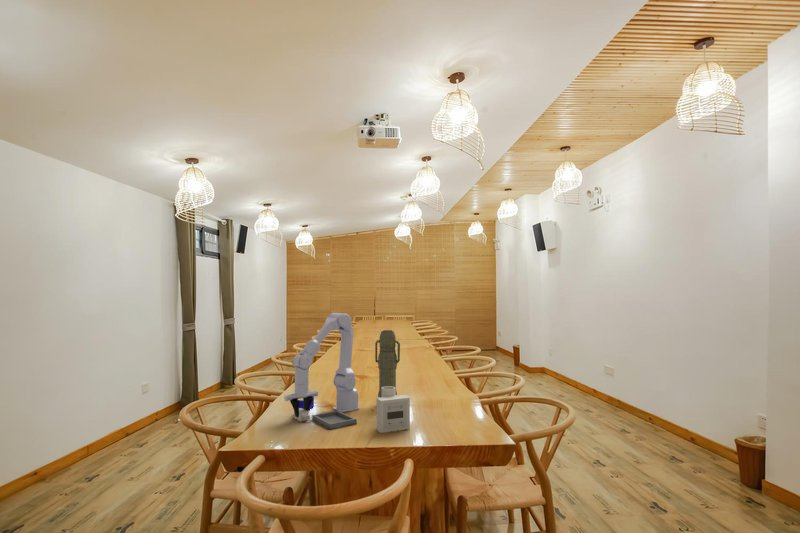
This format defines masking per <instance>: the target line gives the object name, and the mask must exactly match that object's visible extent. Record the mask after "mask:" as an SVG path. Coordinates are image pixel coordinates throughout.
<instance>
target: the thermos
mask: <svg viewBox="0 0 800 533" xmlns="http://www.w3.org/2000/svg"><path fill="white" fill-rule="evenodd" d="M374 344H375V345H374V348H375V350H374V352H375V354H374V355H375V356H374V358H375V363H377V365H378V366H377V368H378V374H379V377H378V379H379V381H378V383H379V385H378V389H379V390H378V393H377V398H380V397H382V387H385V386H392V387H395V395H397V396H398V391H397V367H398V364H399V362H400V360H401V342H399V340H396V334H395V331H393V330H392V329H391V330H389V329H386V330H385V329H384V330H382V331H380V334H379V339H377V340H376V342H375V343H374ZM378 344H379V353H378ZM396 346H397V347H396ZM396 348H397V351H396ZM396 352H397V353H396Z"/></svg>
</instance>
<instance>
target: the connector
mask: <svg viewBox="0 0 800 533" xmlns="http://www.w3.org/2000/svg"><path fill="white" fill-rule="evenodd" d="M293 414H294V415H293V418H294V419H295V420H297V421H298V422H306V421H309V420H310V419H311V415H309V411H306V410H304V409H302V408H299V417H296V416H295V413H294V412H293Z"/></svg>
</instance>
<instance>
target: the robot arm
mask: <svg viewBox="0 0 800 533" xmlns="http://www.w3.org/2000/svg"><path fill="white" fill-rule="evenodd" d="M335 330H337V331H339V332H340V345H339V346H340V349H339V360H338V361H339V363H338V368H337V370H335V376H334V377H333V380H332V381H333V385H334V387H335V389H336V406H333V407H332V409H333V410H334V411H337V410H338V411H340V412H342V413H345V412H349V411H356V410H360V408H359V394H358V390H357V388H355V386H356V384H357V383H356V377H355V372H354V371H353V368H352V361H353V360H352V359H353V358H352V357H353V344H354V343H353V342H354V328H353V325H352V317H351V316H350V315H349V314H348V313H346V312H345V313H341V312H339V313H338V312H331V313H329V315H328V316H327V317H326V319H325V321H324V324H323V325H322V327H321V328H320V329H319V331H318V333H316V336H315V337H314V339H310V340H308V341H307V342H306V343H305V346H304V347H303V348H302V349H301V350H300V351H299V354H296V355H295V356H294V358H293V360H292V361H291V363H292V366H293V367H294V392H293V393H290V394H287V395H286V394H285V395H283V396H284V398H283V399H284V401H285V402H288V401H289V403H290V404H291V406H292V409H293V414H294V413H295V416H296V417H299V404H300V401H298V400H301V399H302V400H303V401H304V410H306V411H308V412H309V411H310V410H309V408H310V405H311V403H312V401H313V398H312V397H313V396H314V397H319V391H317V390H312V391H310V390H309V386H310V385H309V384H310V383H309V373H310V372H309V368H310V367H311V366H312V361H313V359H314V357H315V356H316V355H317V353H318V352H319V350H320V349H321V344H322V342H323V341H324V340H325V339H326V338H327V337H328V335H329V334H330V333H331V332H332V331H335Z"/></svg>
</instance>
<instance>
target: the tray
mask: <svg viewBox="0 0 800 533" xmlns="http://www.w3.org/2000/svg"><path fill="white" fill-rule="evenodd" d="M311 420H312V421H313V422H315V423H316V424H319V425H321V426H323V427H324V428H326V429H328V430H336V429H339V428H344V427H349V426H353V425H357V424H358V423H357V422H358V418H355V417H353V416H351V415H349V414H346V413H345V412H340V411H338V410H332V411H327V412H322V413H317V414H312V415H311Z"/></svg>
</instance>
